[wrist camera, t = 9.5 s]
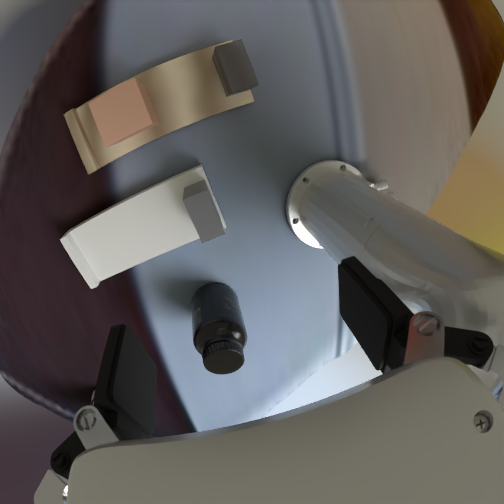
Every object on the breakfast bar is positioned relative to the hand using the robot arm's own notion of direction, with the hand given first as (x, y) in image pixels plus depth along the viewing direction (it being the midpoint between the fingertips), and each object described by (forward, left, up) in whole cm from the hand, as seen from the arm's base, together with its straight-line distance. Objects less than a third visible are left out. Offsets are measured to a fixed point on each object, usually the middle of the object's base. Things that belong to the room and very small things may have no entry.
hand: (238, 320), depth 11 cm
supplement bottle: (+6, +16, -24) cm, 30 cm away
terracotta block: (+5, -12, -22) cm, 25 cm away
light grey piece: (+10, +1, -24) cm, 26 cm away
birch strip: (+2, -12, -24) cm, 27 cm away
